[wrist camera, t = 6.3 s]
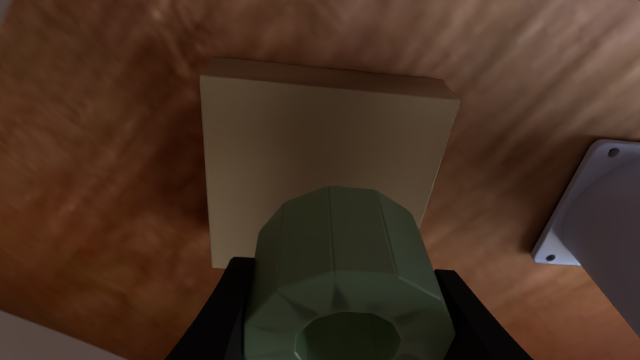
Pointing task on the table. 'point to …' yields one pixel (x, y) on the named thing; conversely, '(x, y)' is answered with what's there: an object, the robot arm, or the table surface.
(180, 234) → the table surface
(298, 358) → the green ring
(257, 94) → the birch block
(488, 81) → the table surface
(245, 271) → the robot arm
